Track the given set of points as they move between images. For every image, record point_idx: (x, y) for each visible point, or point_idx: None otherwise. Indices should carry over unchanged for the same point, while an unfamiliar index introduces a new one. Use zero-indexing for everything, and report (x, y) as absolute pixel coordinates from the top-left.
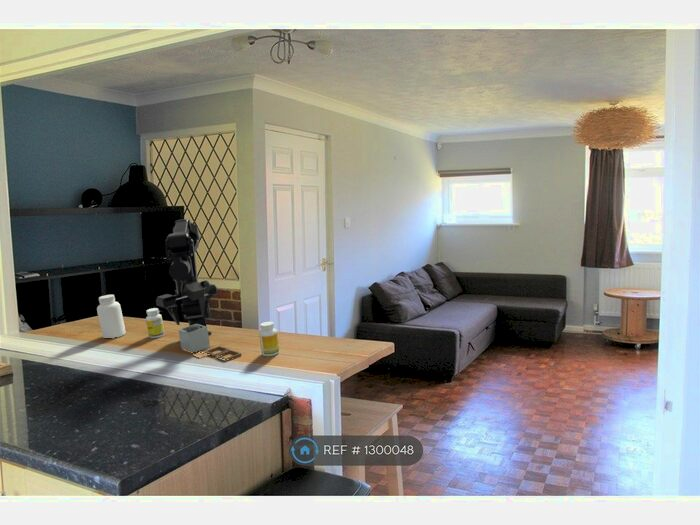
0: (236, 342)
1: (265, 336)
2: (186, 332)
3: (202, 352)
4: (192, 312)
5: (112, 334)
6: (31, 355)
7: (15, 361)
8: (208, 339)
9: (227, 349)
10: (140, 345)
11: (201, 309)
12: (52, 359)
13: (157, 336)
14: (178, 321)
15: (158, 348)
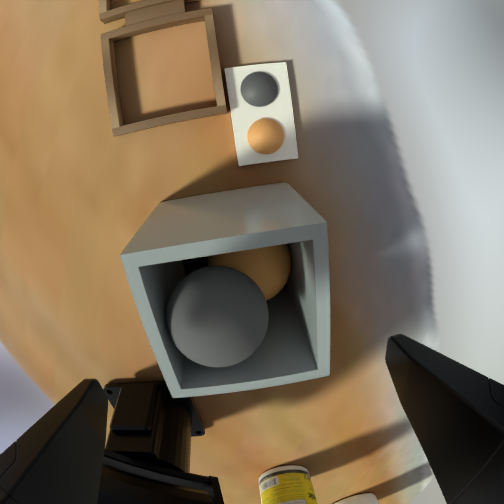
0: (28, 165)
1: None
2: (328, 257)
3: (235, 132)
4: (167, 498)
5: (368, 501)
6: None
7: None
8: (151, 216)
9: (111, 35)
10: (363, 436)
11: (93, 462)
12: None
13: (292, 467)
14: (418, 351)
15: (350, 382)
